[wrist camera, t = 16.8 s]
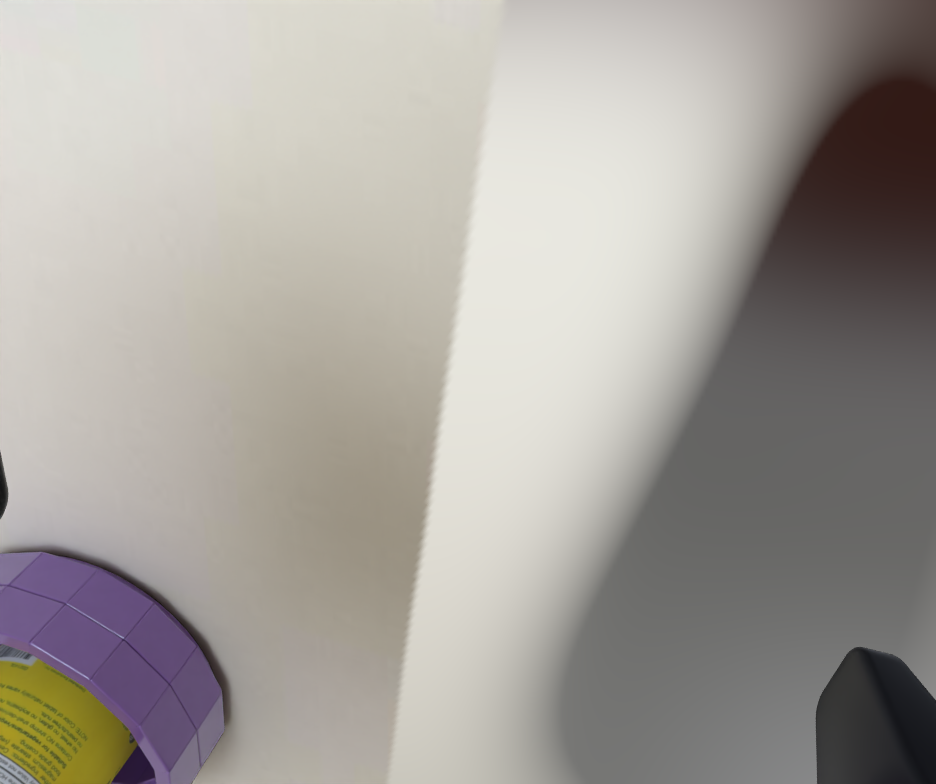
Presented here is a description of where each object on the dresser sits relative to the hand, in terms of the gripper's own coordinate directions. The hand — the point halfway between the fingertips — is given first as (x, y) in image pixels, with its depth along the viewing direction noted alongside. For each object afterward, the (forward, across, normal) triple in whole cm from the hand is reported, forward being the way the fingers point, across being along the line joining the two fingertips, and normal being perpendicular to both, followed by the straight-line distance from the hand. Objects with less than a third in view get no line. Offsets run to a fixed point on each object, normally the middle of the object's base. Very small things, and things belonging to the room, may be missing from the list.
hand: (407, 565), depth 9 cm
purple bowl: (+13, +13, +23) cm, 29 cm away
